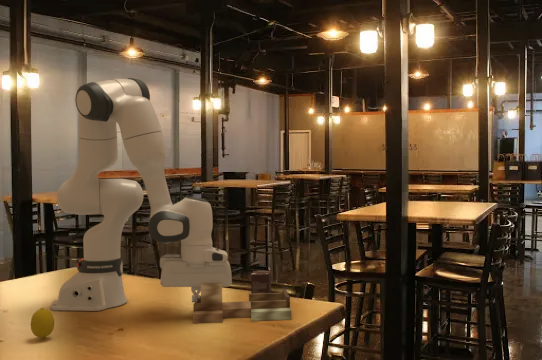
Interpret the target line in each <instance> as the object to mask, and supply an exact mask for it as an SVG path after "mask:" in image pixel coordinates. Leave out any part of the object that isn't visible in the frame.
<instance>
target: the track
mask: <svg viewBox="0 0 542 360" xmlns="http://www.w3.org/2000/svg"><path fill="white" fill-rule="evenodd" d="M281 291H282V292H271V293H258V294H251V293H249V294H248V300H247V301H222V302H216V303H201V295H200V302H193V307H192V308H193V311H192V324H211V323H214V324H215V323H223V319H235V318H236V319H238V318H240V319H241V318H250V320H251V322H257V321H258V322H260V321H284V320H287V321H290V320H292V309H291V297H290V295H289V293H288V291H287V289H285V288H284V289H283V288H282V290H281Z"/></svg>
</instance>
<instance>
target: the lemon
mask: <svg viewBox="0 0 542 360" xmlns="http://www.w3.org/2000/svg"><path fill="white" fill-rule="evenodd" d="M54 328H55V318H54V314H53V313H52V312H51V311H50V310H49V309H46V308H44V307H40V309H38V310H36V311H35V312H34V313H33V315H32V316H31V320H30V329H31V331H32V334H33V336H35V337H37V338H40V339H41V340H45V339H46V338H47V337H49V336H50V335H51V334H52V333H53V331H54Z"/></svg>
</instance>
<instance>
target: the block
mask: <svg viewBox="0 0 542 360" xmlns="http://www.w3.org/2000/svg"><path fill="white" fill-rule="evenodd" d="M200 296H201V303H216V302H223V287H222V283H211V284H201V292H200Z"/></svg>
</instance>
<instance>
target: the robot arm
mask: <svg viewBox="0 0 542 360" xmlns="http://www.w3.org/2000/svg"><path fill="white" fill-rule="evenodd" d="M150 100H151V94H150V90H149V88H148V86H147V84H146V83H145V82H144V81H142V80H141V79H139V78H132V77H129V78H128V77H127V78H109V79H106V80H100V81H95V82H94V81H91V82H87V83H84V84H82V85H80V87H78V89H77V91H76V93H75V99H74V101H75V106H76V109H77V111H78V113H79V116H78V117H79V119H78V142H79V143H78V145H79V146H78V147H79V153H78V162H77V166H76V168H75V170H74V172H73V173H72V175H70V177H69V178H68V179H67V180H65V181H63V183H62V184H61V185H60V186H59V188H58V190H57V193H56V203H57V204H58V205H57V206H58V207H59V208H60V209H61V211H62V212H63V213H65V214H71V215H78V216H81V215H82V216H86V215H88V216H89V215H90V216H91V215H101V216H102V215H103V217H104V219H103V220H102V221H101V222H100V223H98V224H96V225H94V226H92V227H91V228H89V229H88V230H87V231H86V232H85V233H84V234H83V257H82V258H80V259H79V260H78V261H77V263H76V268H77V272H75V274H73V275H72V276H71V277H69V279H67V280H66V281H65V282H64V283H63V284H62V285H61V287H60V288H59V291H58V298H57V299H55V300H53V302H51V304H50V309H51V310H52V311H75V312H76V311H78V312H79V311H84V312H85V311H87V312H92V311H93V312H98V311H99V312H100V311H103V310H106V309H110V308H116V307H119V306H122V305H124V304H126V303H127V301H128V300H127V297H126V294H125V289H124V282H123V277H122V276H123V270H124V268H123V267H124V266H123V265H124V263H123V258H122V257H121V243H122V234H123V233H122V232H123V230H124V227H125V224H126V223H127V221H128V220H129V218H130V217H131V216H132V215H133V214H134V213H135V212H137V211H138V210H139V209H141V208H140V207H141V206H142V205H143V201H144V190H143V188H142V186H141V185H140V183H138V181H136V180H132V179H126V178H98V176H99V174H100V173H101V172H103V171H106V170H107V169H109V168H111V167H113V166H114V165H115V164H116V163H117V160H118V158H119V153H118V152H119V151H118V150H119V149H118V129H117V124H118V127H119V129H120V135H121V138H122V139H121V140H122V144H123V146H124V150H125V152H126V154H127V157H128V159H129V162H130V163H131V165H132V166H133V167H134V168H135V169H136V171H137V172H138V173H139V175H140V177H141V178H142V181H143V184H144V188H145V192H146V194H147V199H148V201H149V206H150V214H149V219H148V224H147V229H148V234H149V236H150V237H151V238H152V239H153V240H154V241H156V242H158V243H159V244H170V243H171V244H172V243H174V242H175V243H176V242H179V241H181V242H180V243H181V244H180V245H181V247H180V248H181V249H180V253H166V254H165V255H164V254H163V255H162V256H161V257H160V259H159V267H160V269H161V272H160V285H161V286H162V287H163V288H191V289H190V291H191V292H192V293H191V294H192V295H191V303H195V302H200V296H201V284H211V283H222V288H223V287H224V288H227V287H230V286H232V284H233V281H232V280H233V279H232V275H233V274H232V269H231V264H230V262H229V260H228V256H229V255H228V253H227V251H226V250H223V249H219V248H216V247H213V239H212V231H213V225H214V224H213V222H214V221H213V210H212V209H213V208H212V206H211V203H210V202H209V201H208V200H206V199H205V198H201V197H196V196H195V197H194V196H185V197H184V198H183V199H181V200H180V201H178V202H176V203H173V201H172V199H171V195H170V194H171V193H170V191H169V187H168V184H167V180H166V175H165V174H166V173H165V161H166V147H165V140H164V135H163V131H162V128H161V124H160V121H159V117H158V116H157V115H158V114H157V113H156V110H155V108H154V106H153V104H152V102H151V101H150Z"/></svg>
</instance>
